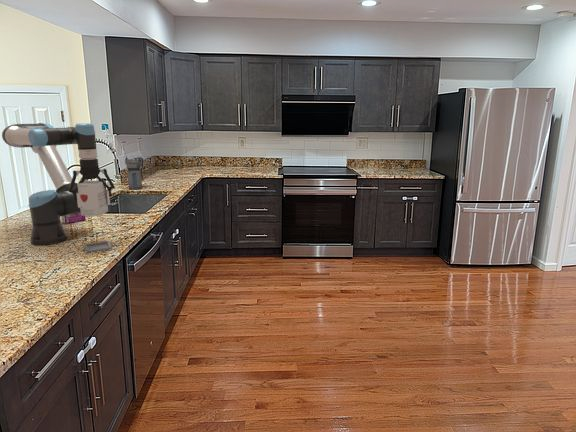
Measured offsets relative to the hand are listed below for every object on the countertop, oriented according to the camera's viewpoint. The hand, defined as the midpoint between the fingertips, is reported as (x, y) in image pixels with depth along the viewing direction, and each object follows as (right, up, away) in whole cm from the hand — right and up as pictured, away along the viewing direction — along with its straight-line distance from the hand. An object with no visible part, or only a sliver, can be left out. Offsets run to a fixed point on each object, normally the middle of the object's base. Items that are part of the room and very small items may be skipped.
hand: (94, 205), depth 191 cm
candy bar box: (-29, -8, +39) cm, 50 cm away
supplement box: (0, -4, +1) cm, 4 cm away
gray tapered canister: (-29, +16, +133) cm, 137 cm away
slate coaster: (+5, -20, -6) cm, 21 cm away
